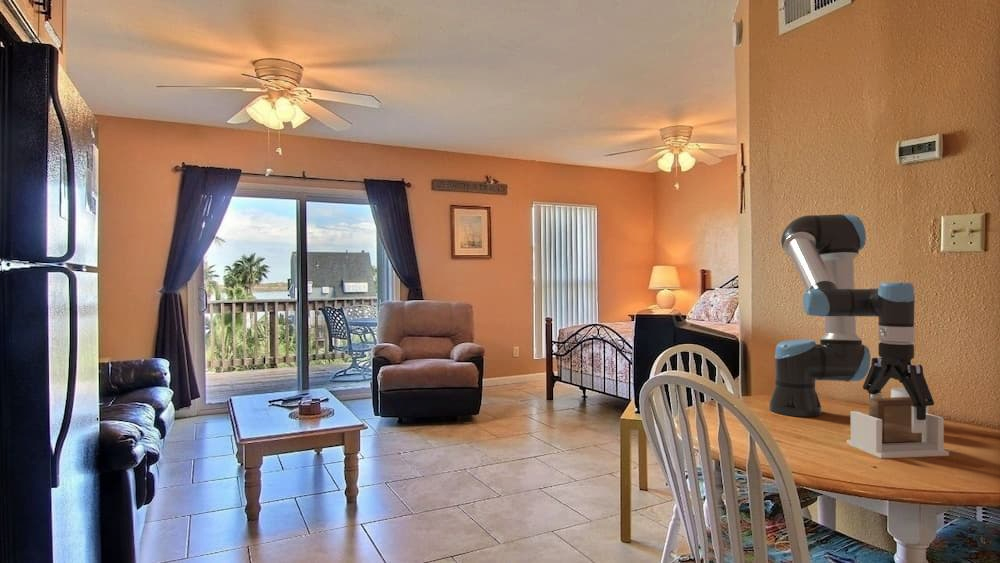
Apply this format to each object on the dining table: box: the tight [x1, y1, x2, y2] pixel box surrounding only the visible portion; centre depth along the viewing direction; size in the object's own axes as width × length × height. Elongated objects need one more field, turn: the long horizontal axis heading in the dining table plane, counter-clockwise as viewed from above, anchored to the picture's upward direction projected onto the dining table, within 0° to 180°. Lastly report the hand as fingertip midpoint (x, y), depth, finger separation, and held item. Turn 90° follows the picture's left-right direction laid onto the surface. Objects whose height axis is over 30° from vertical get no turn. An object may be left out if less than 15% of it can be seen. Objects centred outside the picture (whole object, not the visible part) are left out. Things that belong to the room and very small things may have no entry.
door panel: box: [868, 397, 922, 444], centre depth 145 cm, size 3×12×12 cm, turn 95°
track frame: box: [846, 410, 950, 459], centre depth 145 cm, size 12×18×9 cm, turn 95°
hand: (895, 425), depth 145 cm, fingers open, 13 cm apart
